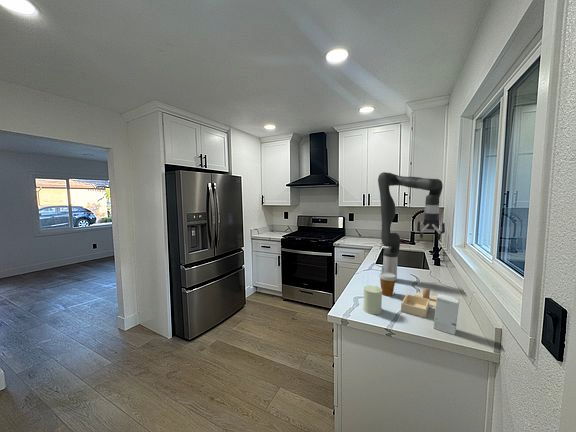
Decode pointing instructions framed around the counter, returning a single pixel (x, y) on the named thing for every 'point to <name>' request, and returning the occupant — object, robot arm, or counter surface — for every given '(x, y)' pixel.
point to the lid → (428, 296)
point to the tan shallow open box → (415, 305)
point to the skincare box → (446, 313)
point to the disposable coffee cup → (387, 283)
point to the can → (372, 299)
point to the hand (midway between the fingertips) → (430, 239)
